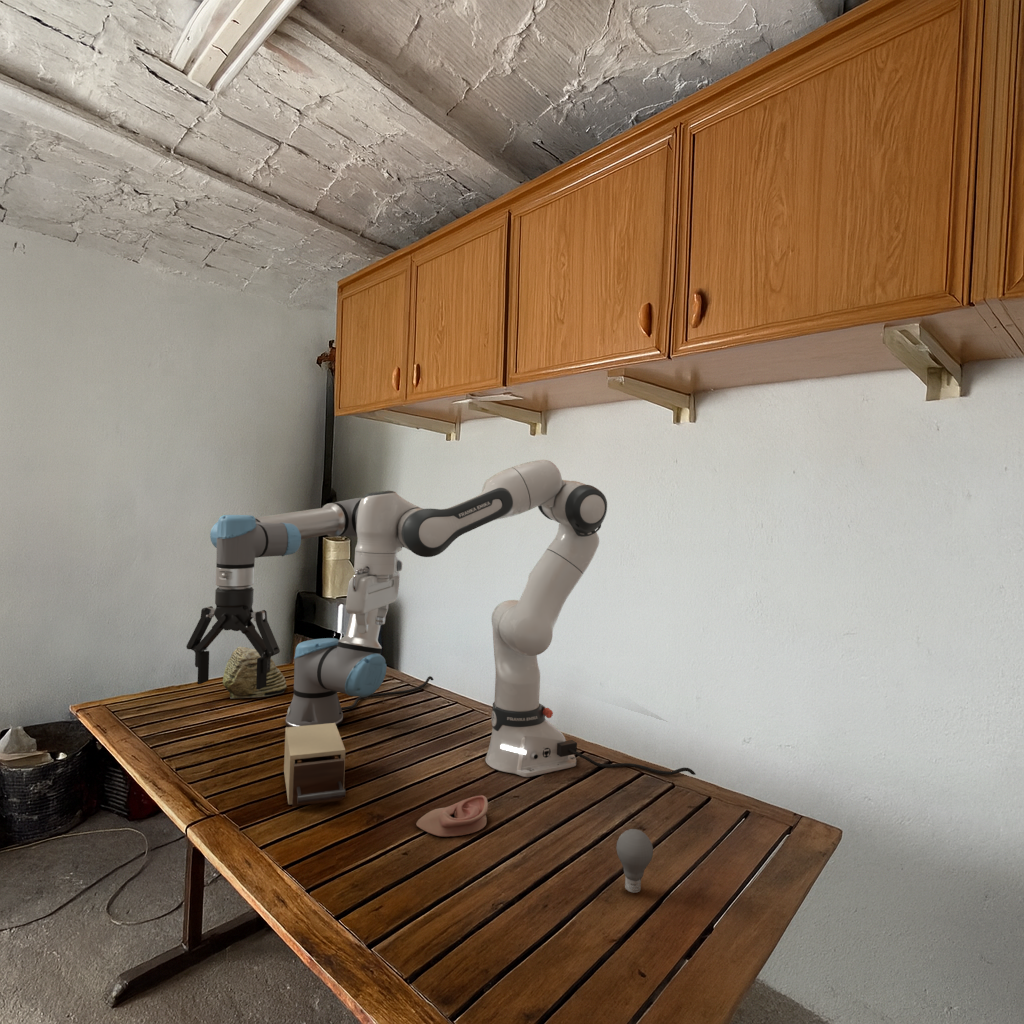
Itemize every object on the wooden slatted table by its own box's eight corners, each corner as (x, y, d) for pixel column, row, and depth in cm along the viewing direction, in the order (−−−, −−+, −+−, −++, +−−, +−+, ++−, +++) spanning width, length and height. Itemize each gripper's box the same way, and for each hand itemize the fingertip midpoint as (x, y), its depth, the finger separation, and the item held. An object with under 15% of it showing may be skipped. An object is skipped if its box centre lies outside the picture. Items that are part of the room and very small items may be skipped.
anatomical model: (411, 811, 121) (430, 785, 132) (410, 832, 121) (430, 804, 132) (478, 821, 118) (492, 794, 129) (477, 842, 118) (492, 813, 129)
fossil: (218, 695, 195) (220, 647, 195) (278, 685, 208) (279, 640, 207) (228, 703, 189) (230, 653, 188) (289, 692, 201) (290, 645, 201)
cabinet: (343, 797, 134) (345, 749, 134) (288, 804, 130) (290, 755, 130) (333, 765, 149) (335, 722, 149) (283, 771, 145) (285, 727, 145)
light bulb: (610, 879, 108) (613, 822, 108) (644, 879, 109) (647, 822, 109) (619, 902, 102) (622, 840, 102) (655, 901, 103) (658, 840, 103)
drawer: (347, 813, 126) (348, 771, 125) (294, 820, 122) (296, 778, 122) (333, 769, 145) (334, 733, 145) (287, 774, 141) (289, 738, 141)
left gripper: (170, 585, 134) (167, 684, 135) (280, 592, 130) (277, 695, 131) (192, 581, 141) (190, 675, 142) (297, 587, 138) (294, 684, 138)
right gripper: (369, 570, 126) (365, 639, 127) (405, 562, 147) (401, 621, 147) (340, 568, 128) (336, 636, 128) (379, 560, 148) (376, 619, 148)
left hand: (231, 685), depth 136 cm, fingers open, 13 cm apart
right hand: (371, 628), depth 137 cm, fingers open, 8 cm apart
